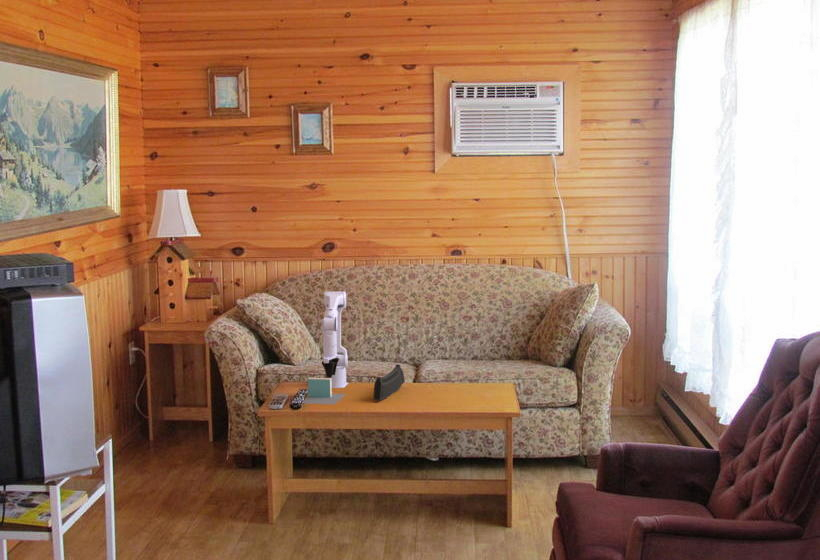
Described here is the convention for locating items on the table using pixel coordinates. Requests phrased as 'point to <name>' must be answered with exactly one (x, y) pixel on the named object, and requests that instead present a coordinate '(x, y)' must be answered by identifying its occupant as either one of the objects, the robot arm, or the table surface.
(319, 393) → the tile
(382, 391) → the magazine
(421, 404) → the table surface
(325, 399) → the mat
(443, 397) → the table surface
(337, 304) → the robot arm
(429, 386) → the table surface
